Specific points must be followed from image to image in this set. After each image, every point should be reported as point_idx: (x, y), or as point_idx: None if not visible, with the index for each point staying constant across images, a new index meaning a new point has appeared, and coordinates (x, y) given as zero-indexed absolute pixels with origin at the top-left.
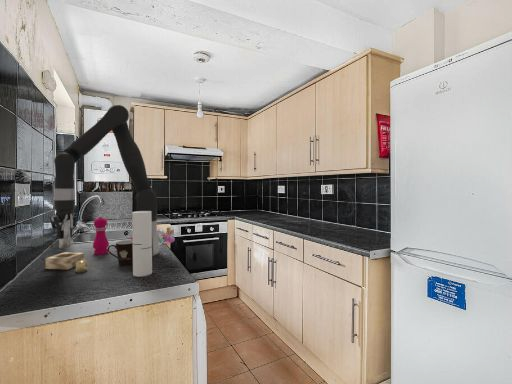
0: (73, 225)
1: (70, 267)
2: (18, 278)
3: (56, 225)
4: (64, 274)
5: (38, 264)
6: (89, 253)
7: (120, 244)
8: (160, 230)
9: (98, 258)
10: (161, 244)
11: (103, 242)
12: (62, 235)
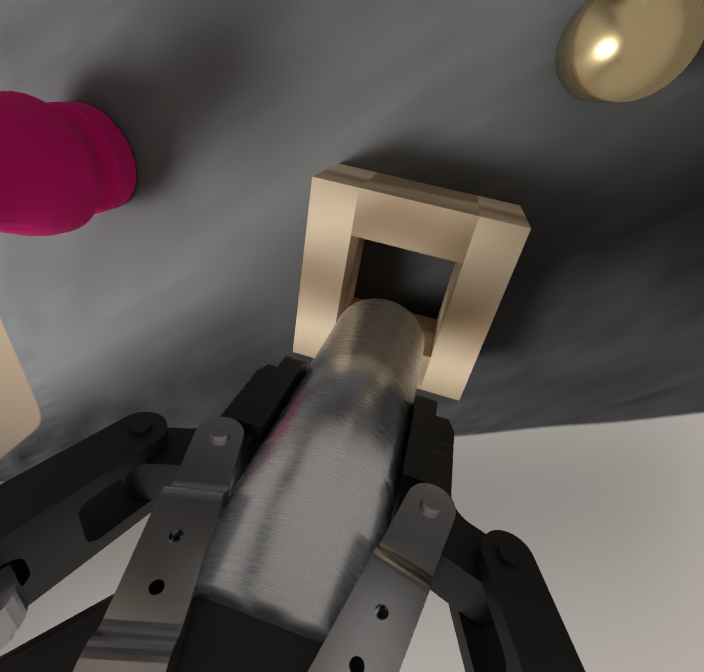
0: (167, 441)
1: (491, 199)
2: (643, 414)
3: (562, 644)
4: (677, 159)
5: None
6: (118, 246)
7: None
8: None
9: (224, 99)
10: None
11: (19, 121)
12: (436, 426)
